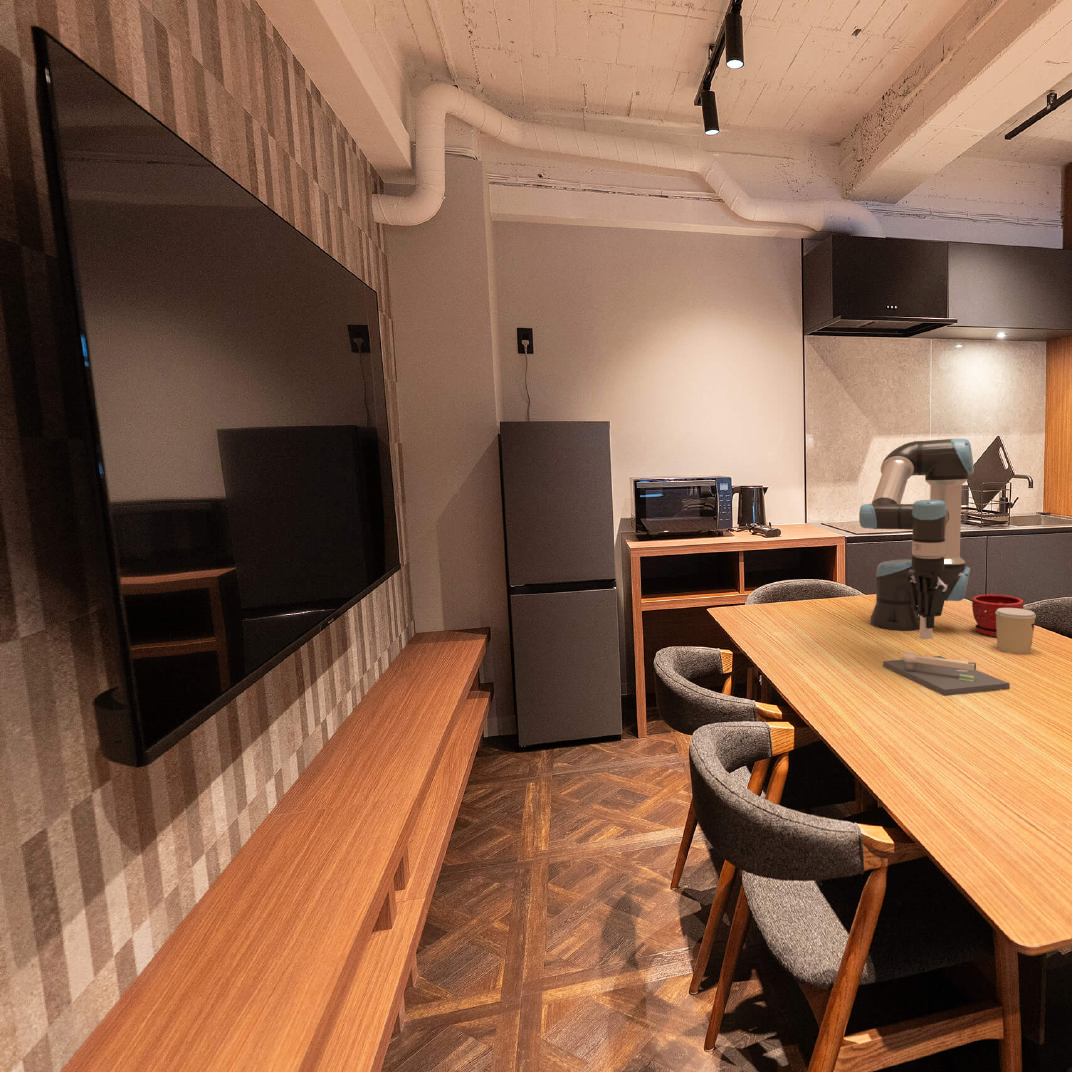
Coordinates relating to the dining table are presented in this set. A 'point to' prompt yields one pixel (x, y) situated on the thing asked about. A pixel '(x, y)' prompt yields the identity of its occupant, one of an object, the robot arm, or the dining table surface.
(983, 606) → the plant pot
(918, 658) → the knob-ended beige rod
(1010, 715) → the dining table surface
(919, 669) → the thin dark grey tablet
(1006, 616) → the coffee cup
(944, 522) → the robot arm
